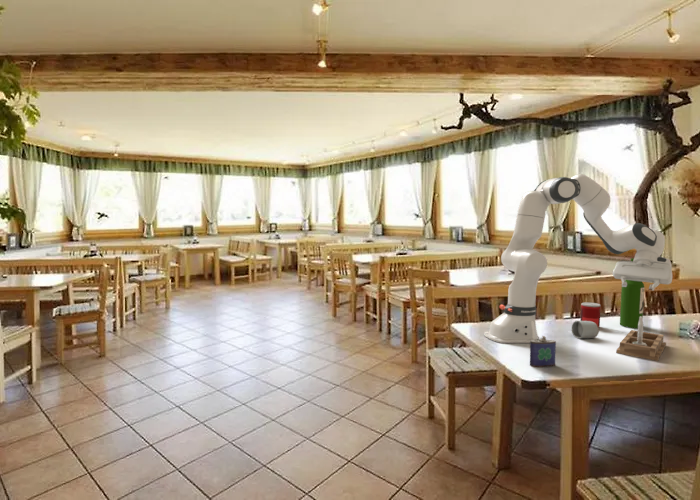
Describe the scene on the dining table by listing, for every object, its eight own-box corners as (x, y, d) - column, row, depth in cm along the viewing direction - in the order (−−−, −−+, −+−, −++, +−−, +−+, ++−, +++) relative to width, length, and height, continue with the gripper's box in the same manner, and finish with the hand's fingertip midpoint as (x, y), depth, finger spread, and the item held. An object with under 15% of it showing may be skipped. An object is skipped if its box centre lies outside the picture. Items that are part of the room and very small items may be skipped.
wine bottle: (641, 329, 192) (645, 260, 189) (618, 326, 197) (622, 258, 194) (642, 325, 199) (646, 258, 196) (620, 322, 204) (623, 257, 201)
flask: (552, 363, 148) (553, 334, 147) (557, 366, 145) (558, 337, 145) (528, 364, 148) (529, 335, 147) (532, 367, 145) (533, 337, 144)
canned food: (603, 328, 193) (604, 305, 192) (585, 328, 193) (586, 305, 192) (593, 324, 201) (594, 302, 200) (577, 324, 201) (578, 302, 200)
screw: (641, 351, 157) (628, 347, 161) (649, 350, 158) (637, 346, 163) (643, 318, 156) (630, 315, 160) (651, 317, 157) (639, 314, 162)
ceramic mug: (600, 339, 176) (600, 322, 176) (582, 340, 175) (583, 322, 174) (582, 333, 187) (583, 316, 186) (566, 334, 185) (566, 317, 185)
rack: (657, 360, 151) (658, 349, 150) (616, 352, 159) (616, 342, 159) (666, 345, 168) (666, 335, 168) (628, 339, 177) (628, 329, 177)
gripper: (616, 255, 179) (607, 279, 174) (674, 259, 164) (666, 286, 158) (618, 264, 183) (609, 288, 177) (676, 270, 167) (668, 296, 162)
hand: (637, 287), depth 168 cm, fingers open, 8 cm apart
